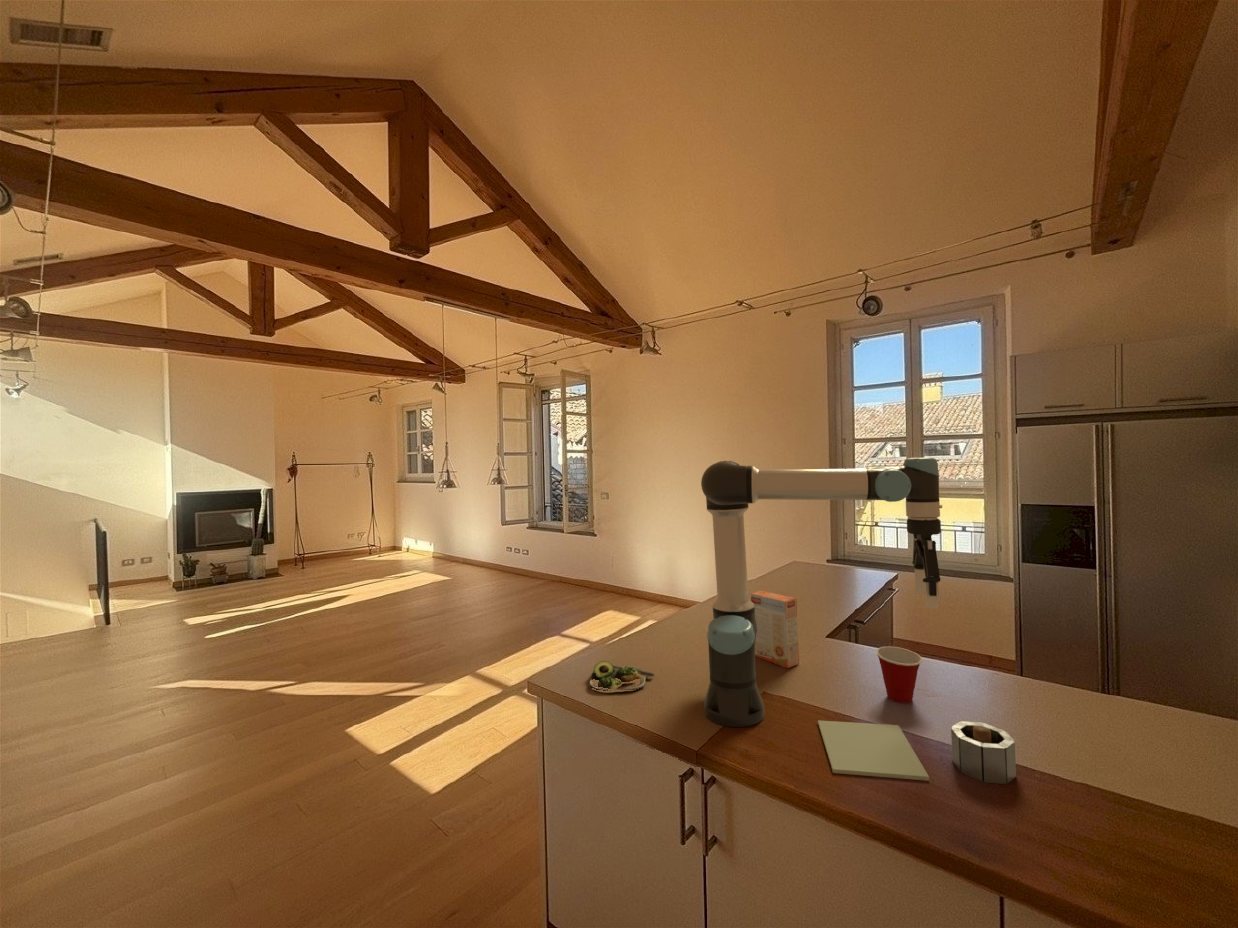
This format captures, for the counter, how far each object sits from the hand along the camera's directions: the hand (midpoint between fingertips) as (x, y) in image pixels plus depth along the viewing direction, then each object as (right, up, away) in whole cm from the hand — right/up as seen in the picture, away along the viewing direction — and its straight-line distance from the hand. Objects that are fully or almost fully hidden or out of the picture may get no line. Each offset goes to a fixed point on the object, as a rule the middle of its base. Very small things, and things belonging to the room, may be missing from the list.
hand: (926, 600), depth 133 cm
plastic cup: (-4, -27, +4) cm, 28 cm away
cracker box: (-29, -28, +33) cm, 52 cm away
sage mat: (-24, -28, -18) cm, 41 cm away
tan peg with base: (-4, -27, -26) cm, 38 cm away
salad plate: (-80, -31, +23) cm, 89 cm away
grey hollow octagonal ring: (-4, -27, -26) cm, 38 cm away
